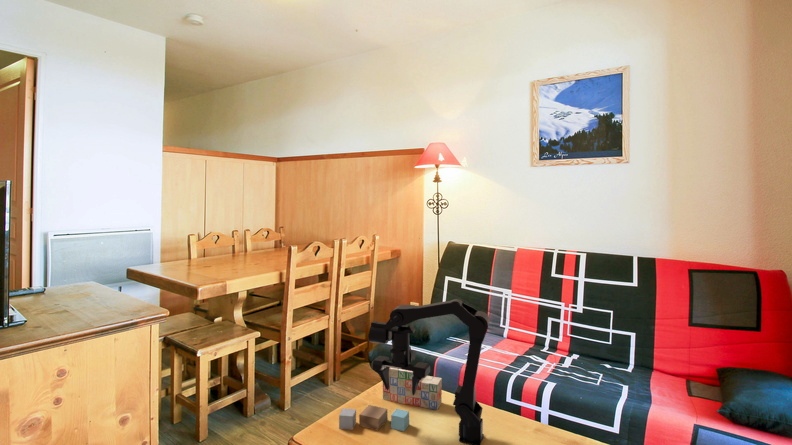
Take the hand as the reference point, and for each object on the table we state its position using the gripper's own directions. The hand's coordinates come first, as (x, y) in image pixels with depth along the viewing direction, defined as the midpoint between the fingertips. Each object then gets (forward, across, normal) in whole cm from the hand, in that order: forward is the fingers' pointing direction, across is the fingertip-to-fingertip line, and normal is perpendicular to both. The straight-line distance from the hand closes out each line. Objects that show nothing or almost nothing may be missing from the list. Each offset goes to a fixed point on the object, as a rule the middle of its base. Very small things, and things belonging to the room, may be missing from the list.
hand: (400, 392), depth 130 cm
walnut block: (+12, +9, +2) cm, 15 cm away
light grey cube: (+11, +16, +7) cm, 21 cm away
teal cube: (+12, 0, 0) cm, 12 cm away
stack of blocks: (+12, +3, -18) cm, 22 cm away
